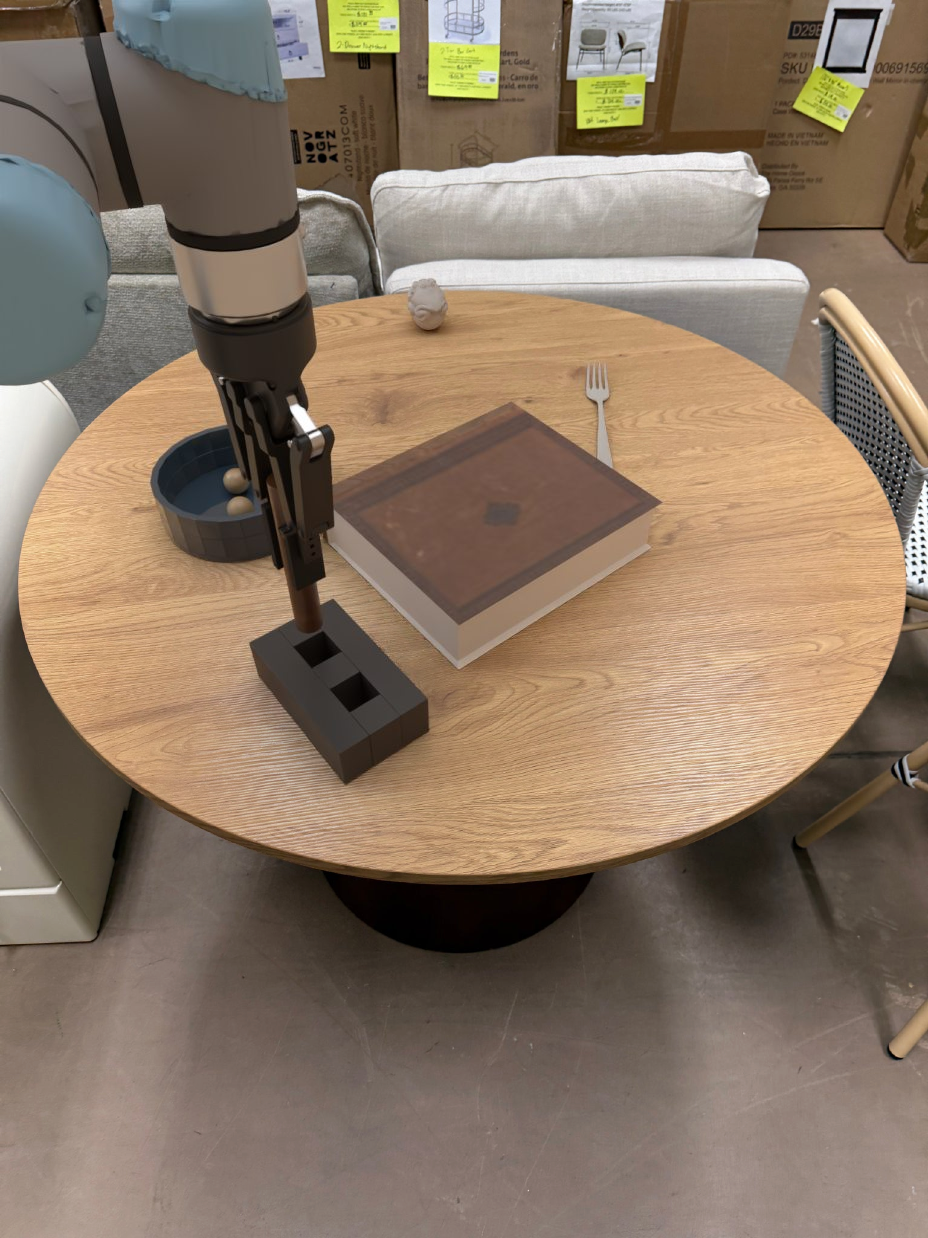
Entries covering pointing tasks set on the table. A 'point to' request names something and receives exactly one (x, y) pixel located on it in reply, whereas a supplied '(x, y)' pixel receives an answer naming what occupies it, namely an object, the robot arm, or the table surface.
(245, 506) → the bead
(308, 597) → the stirring stick
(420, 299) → the grey lumpy oval lump
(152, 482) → the bowl
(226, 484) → the bead
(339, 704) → the holder
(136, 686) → the table surface
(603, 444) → the fork
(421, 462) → the book
